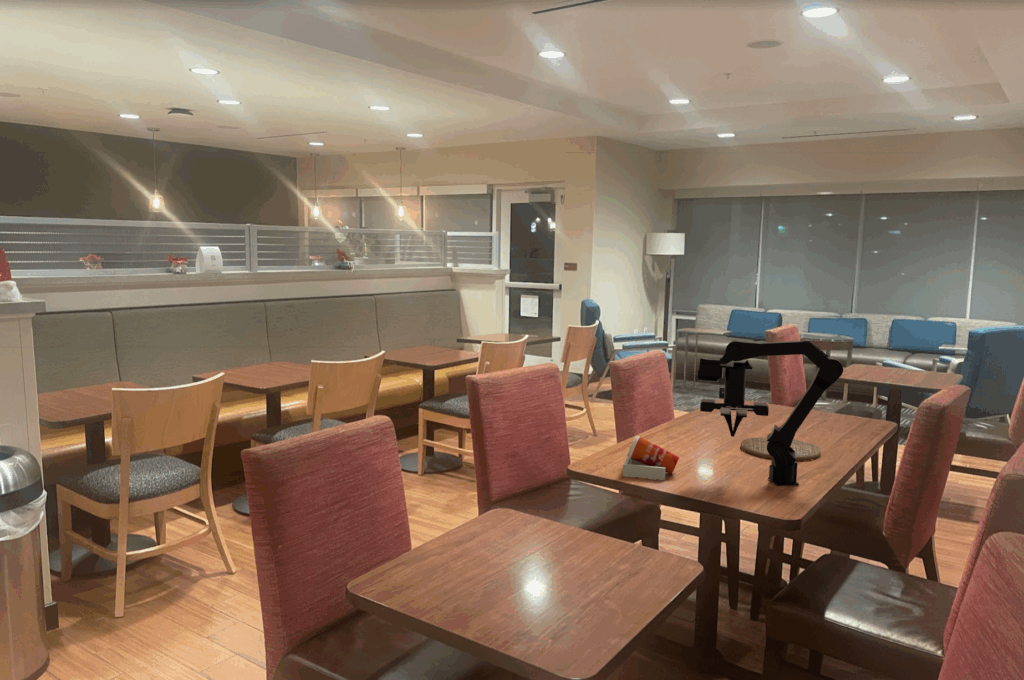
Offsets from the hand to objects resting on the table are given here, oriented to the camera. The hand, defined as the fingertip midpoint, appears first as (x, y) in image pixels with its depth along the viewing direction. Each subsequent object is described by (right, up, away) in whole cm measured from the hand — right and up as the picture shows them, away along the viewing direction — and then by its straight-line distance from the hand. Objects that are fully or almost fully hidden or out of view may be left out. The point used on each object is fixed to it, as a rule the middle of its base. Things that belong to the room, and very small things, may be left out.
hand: (732, 436), depth 205 cm
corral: (-24, -11, +5) cm, 27 cm away
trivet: (+25, -10, +31) cm, 41 cm away
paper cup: (-16, -9, +2) cm, 18 cm away
